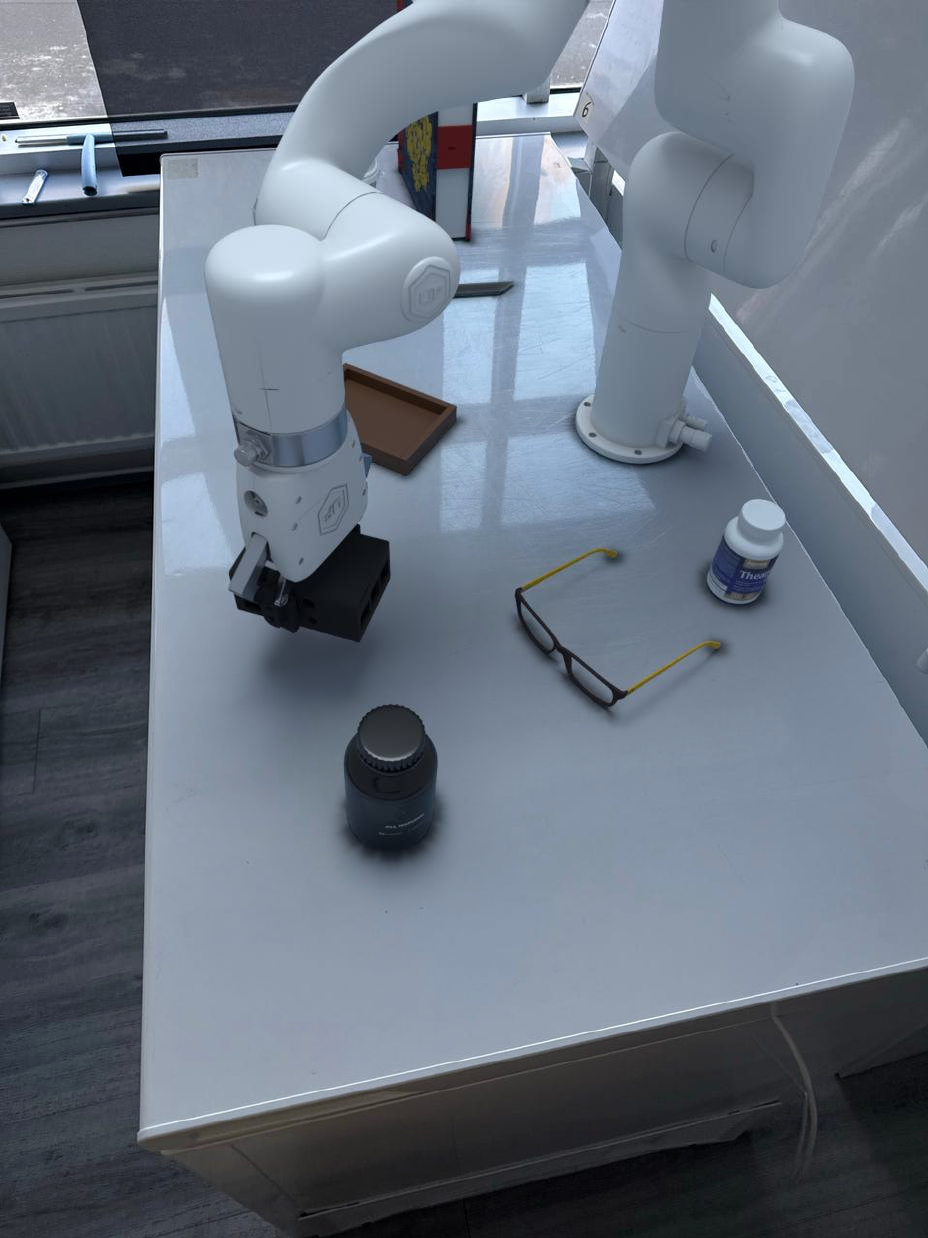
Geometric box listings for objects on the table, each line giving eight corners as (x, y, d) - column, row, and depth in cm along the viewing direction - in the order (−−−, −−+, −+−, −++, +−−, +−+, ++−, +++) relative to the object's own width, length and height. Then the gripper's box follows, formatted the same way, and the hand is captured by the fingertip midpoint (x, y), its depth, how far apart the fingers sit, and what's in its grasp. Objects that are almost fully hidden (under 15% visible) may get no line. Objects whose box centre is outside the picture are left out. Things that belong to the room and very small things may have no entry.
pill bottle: (728, 613, 86) (759, 542, 78) (694, 575, 89) (722, 503, 81) (771, 595, 88) (806, 524, 80) (737, 558, 91) (768, 487, 83)
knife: (414, 300, 117) (414, 295, 117) (409, 284, 120) (409, 279, 119) (518, 294, 119) (518, 289, 119) (511, 278, 122) (512, 273, 121)
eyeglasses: (503, 619, 84) (507, 591, 81) (614, 555, 90) (622, 527, 87) (607, 725, 77) (615, 699, 74) (720, 648, 83) (732, 621, 80)
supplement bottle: (402, 870, 68) (402, 794, 59) (329, 824, 70) (318, 744, 61) (450, 802, 72) (458, 720, 62) (380, 760, 74) (378, 675, 64)
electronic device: (359, 646, 72) (356, 606, 68) (237, 612, 73) (227, 572, 69) (391, 579, 76) (389, 539, 72) (275, 549, 78) (268, 508, 74)
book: (393, 164, 142) (391, -22, 123) (436, 161, 143) (440, -23, 124) (427, 245, 126) (431, 47, 107) (474, 241, 128) (486, 45, 109)
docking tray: (456, 420, 102) (457, 405, 101) (406, 475, 96) (406, 460, 94) (346, 377, 106) (345, 362, 105) (291, 427, 100) (289, 411, 98)
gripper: (257, 519, 54) (289, 681, 68) (405, 370, 64) (408, 538, 78) (160, 475, 56) (210, 641, 70) (318, 337, 66) (335, 506, 80)
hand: (314, 586), depth 74 cm, fingers closed on electronic device, 8 cm apart
